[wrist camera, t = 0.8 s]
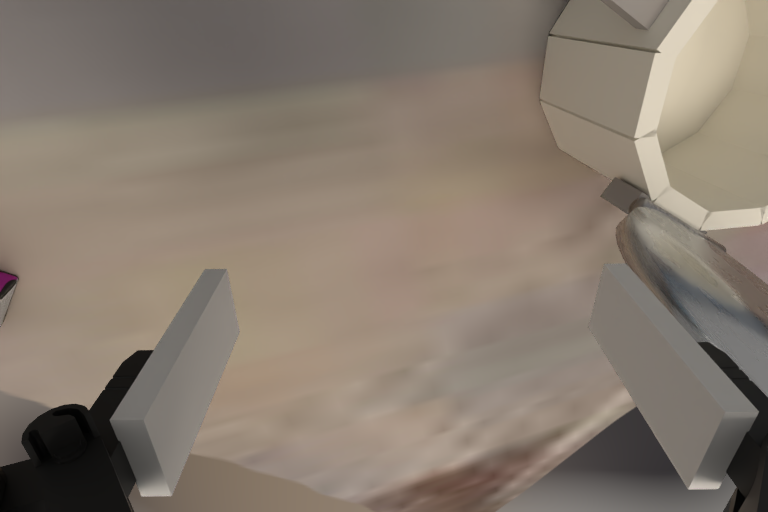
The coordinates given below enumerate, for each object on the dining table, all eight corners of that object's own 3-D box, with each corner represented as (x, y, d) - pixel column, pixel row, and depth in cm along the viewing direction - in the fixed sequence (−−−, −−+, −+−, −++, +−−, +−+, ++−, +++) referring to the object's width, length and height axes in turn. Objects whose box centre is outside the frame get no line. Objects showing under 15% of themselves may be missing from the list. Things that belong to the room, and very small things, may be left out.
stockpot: (662, 228, 42) (771, 297, 32) (450, 104, 33) (513, 148, 24) (819, 41, 36) (1009, 58, 26) (608, -169, 27) (777, -255, 18)
